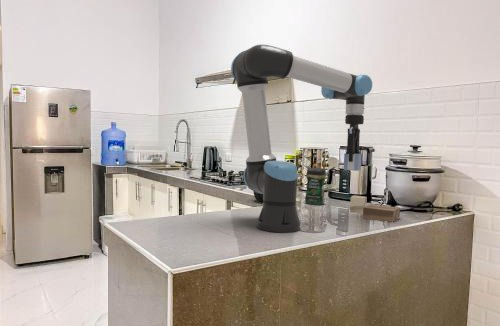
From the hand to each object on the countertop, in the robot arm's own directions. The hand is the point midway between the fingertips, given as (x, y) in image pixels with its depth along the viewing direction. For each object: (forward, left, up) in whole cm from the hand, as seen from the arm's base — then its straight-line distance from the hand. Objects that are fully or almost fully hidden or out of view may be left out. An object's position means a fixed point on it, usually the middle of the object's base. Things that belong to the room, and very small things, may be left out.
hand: (352, 169), depth 167 cm
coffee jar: (+24, +24, -20) cm, 39 cm away
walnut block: (+3, -12, -21) cm, 24 cm away
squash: (+14, +46, -20) cm, 52 cm away
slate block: (0, 0, 0) cm, 0 cm away
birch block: (+14, 0, -20) cm, 24 cm away
